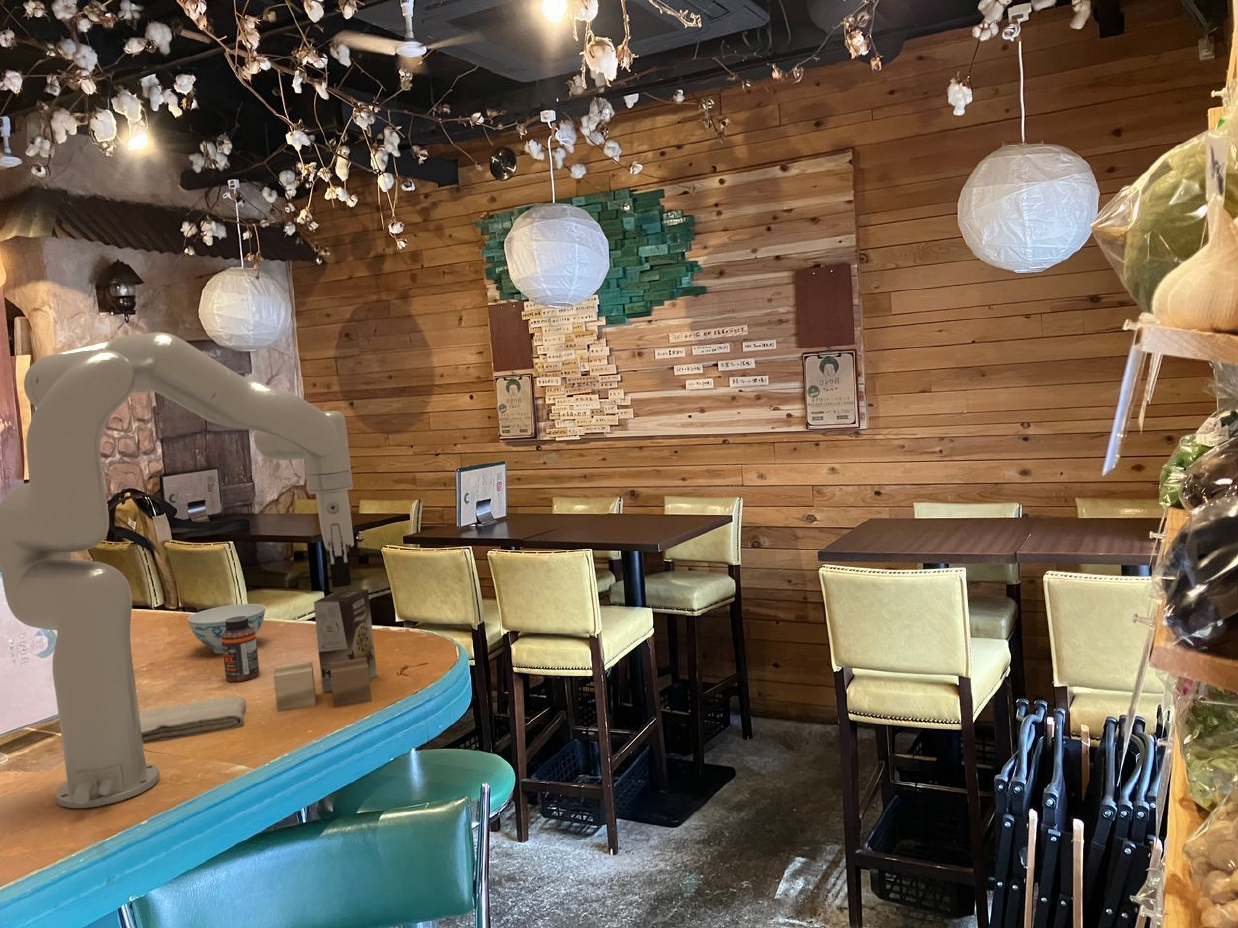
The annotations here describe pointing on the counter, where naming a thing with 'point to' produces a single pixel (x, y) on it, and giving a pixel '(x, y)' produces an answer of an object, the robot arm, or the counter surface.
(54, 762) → the counter surface
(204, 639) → the chinaware
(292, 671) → the beech cube
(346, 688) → the walnut cube
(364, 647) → the coffee box
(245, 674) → the supplement bottle
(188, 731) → the washcloth
